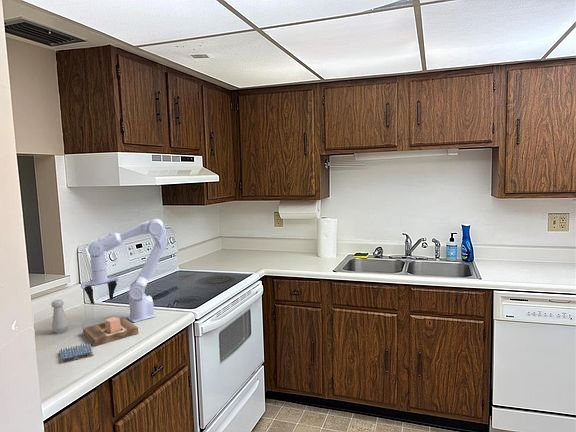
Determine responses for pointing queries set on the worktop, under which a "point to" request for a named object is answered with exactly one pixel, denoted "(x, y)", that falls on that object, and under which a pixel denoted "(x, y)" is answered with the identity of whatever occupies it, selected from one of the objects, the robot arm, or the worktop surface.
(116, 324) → the pin
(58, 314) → the salt shaker
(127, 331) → the wooden peg board
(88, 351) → the woven mat
